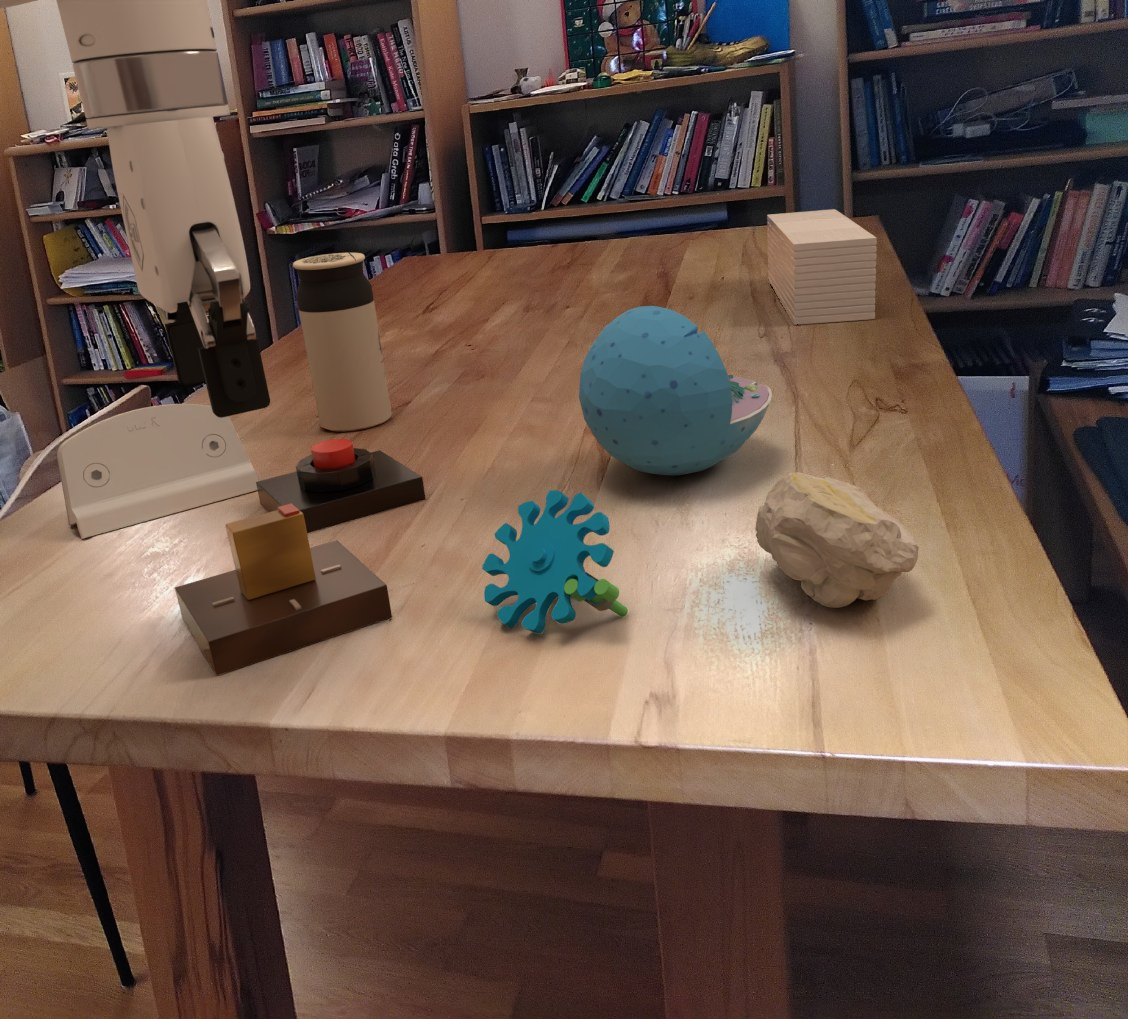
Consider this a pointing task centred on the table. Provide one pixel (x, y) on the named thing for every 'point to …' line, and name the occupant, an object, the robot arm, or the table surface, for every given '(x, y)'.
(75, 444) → the hinge
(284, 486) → the alarm box
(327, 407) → the travel mug
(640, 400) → the educational model
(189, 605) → the plate
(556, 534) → the gear
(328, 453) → the button
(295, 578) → the yellow block
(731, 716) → the table surface
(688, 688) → the table surface
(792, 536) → the beige rock
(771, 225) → the grooved wooden block
